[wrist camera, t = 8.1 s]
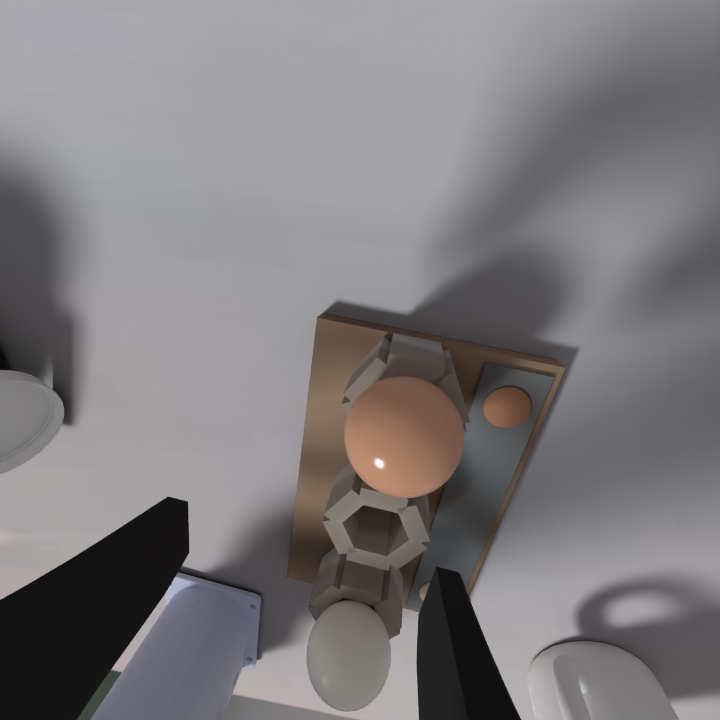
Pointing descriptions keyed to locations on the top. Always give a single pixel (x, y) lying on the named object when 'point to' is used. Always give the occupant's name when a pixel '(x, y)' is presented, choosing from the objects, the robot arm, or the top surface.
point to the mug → (595, 685)
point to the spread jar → (25, 416)
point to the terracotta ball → (404, 437)
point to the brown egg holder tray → (419, 514)
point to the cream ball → (348, 655)
